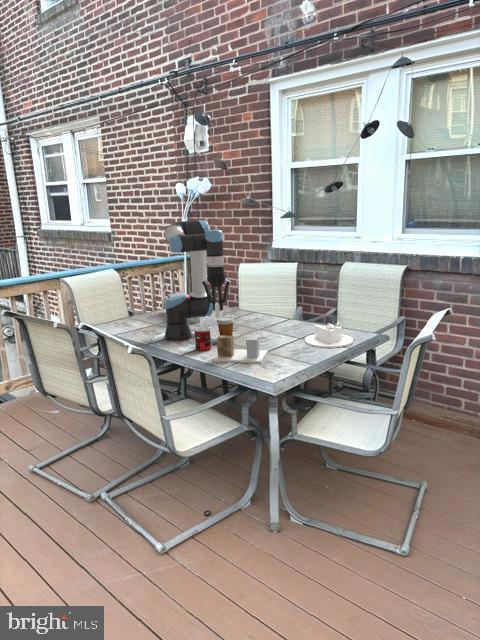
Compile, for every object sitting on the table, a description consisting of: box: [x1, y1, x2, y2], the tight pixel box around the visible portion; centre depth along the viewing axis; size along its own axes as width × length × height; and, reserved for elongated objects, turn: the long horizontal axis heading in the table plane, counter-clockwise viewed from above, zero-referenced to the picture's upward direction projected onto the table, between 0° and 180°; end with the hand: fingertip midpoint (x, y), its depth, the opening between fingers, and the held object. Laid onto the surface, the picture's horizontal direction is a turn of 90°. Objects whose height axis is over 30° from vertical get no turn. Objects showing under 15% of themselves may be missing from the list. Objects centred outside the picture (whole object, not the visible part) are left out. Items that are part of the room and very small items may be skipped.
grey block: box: [245, 336, 260, 358], centre depth 220 cm, size 5×5×9 cm
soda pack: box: [166, 291, 201, 325], centre depth 308 cm, size 41×13×14 cm, turn 20°
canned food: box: [194, 326, 212, 352], centre depth 237 cm, size 8×8×11 cm
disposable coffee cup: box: [216, 316, 235, 336], centre depth 252 cm, size 10×10×12 cm
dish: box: [304, 321, 354, 349], centre depth 242 cm, size 25×25×11 cm
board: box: [211, 348, 269, 364], centre depth 224 cm, size 24×16×1 cm, turn 75°
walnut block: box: [216, 334, 235, 358], centre depth 221 cm, size 7×4×10 cm, turn 75°
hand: (218, 317), depth 209 cm, fingers closed
